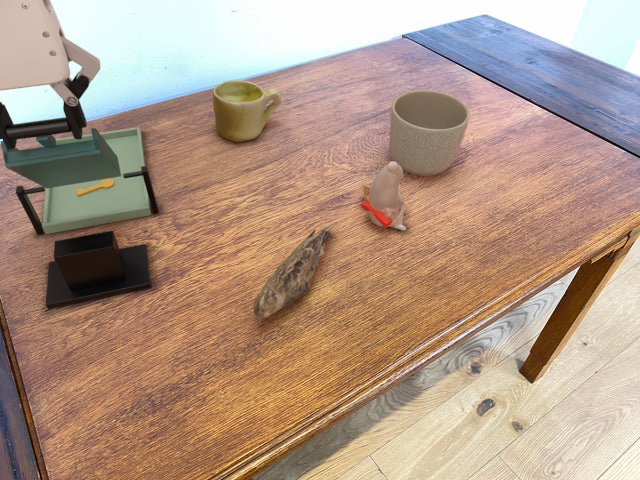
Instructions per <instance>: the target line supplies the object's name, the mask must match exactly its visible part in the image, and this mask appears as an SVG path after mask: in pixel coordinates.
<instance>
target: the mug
mask: <svg viewBox="0 0 640 480" xmlns="http://www.w3.org/2000/svg"><path fill="white" fill-rule="evenodd" d="M271 100H272V102H271V103H269V102H270V101H271ZM281 102H282V95H281V93H280V91H279V90H277V89H276V88H267V89H266V90H264V89H263V88H262V87H261V86H260V85H258V84H256V83H254V82H252V81H248V80H242V79H241V80H240V79H229V80H223V82H221V83H218V84H216V85H215V86H214V87H213V90H212V106H213V112H214V121H215V122H214V123H215V125H214V126H215V129H216V132H217V134H219V135H220V136H221V137H222V138H225V139H227V140H229V141H232V142H235V143H241V142H247V141H252V140H254V139H257V137H259V136H260V135H261V134H262V132H263V130H264V127H265V126H266V125H267V123H268V120H269V119H270V117H271V115H273V114H274V112H275V111H276V110H277V108H278V107H280V105H281ZM268 103H269V105H268ZM267 105H268V106H267Z"/></svg>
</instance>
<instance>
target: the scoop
mask: <svg viewBox="0 0 640 480" xmlns="http://www.w3.org/2000/svg"><path fill="white" fill-rule="evenodd" d="M90 130H91V134H92V136H93V140H88V141H81V142H74V143H67V144H60V145H57V144H56V139H57V138H56V137H54V135H60V134H68V133H72V131H71V129H70V126H69V124H68V121H67V118H66V116H64V117H57V118H50V119H42V120H35V121H27V122H20V123H19V122H18V123H13V124H11V125H6V133H7V136H8V138H9V139H10V140H17V141H18V140H25V139H32V138H35V139H36V142H37V143H39V144H40V145H41V146H40V147H33V148H27V149H19V148H17V146H16V147H14V149H10V150H8V149H7V147H6V145H5V143H4V141H3V140H1V141H0V145H1V146H0V147H1V151H2V155H3V160H4V165H5V168H6V169H8V170H10V171H12V172H14V173H15V174H18V175H20V176H22V177H23V178H26V179H28V180H29V181H31V182H33V183H36V184H38V185H40V187H44V188H45V189H46V188H53V187H59V186H65V185H71V184H78V183H84V182H90V181H96V180H102V179H109V178H115V177H121V172H120V167H119V162H118V157H117V155H116V154H115V153H114V151H113V150H112V149H111V148H110V146H109V145H108V144H107V142H106V141H105V140H104V139H103V137H102V136H101V135H100V133H101V132H99V130H98V129H97V128H96V127H93V128H90Z"/></svg>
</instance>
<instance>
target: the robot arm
mask: <svg viewBox="0 0 640 480" xmlns="http://www.w3.org/2000/svg"><path fill="white" fill-rule="evenodd" d="M70 62H73V63H75V64H77V65H79V66H80V67H81V68H80V70H79V71H78V72H77V73H76V74H75V76H74V77H73V78H71V77H70V76H71V69H70V66H69V65H70ZM100 70H101V60H100V58H98V57H97V56H95V55H93V53H90V52H89V51H87V50H86V49H84V48H82V47H80V46H79V45H78V44H76V43H74V42H73V41H71V40H69V39H68V38H67V37H66V33H65V31H64V29H63V27H62V25H61V22H60V20H59V18H58V14H57V13H56V10H55V8H54V6H53V3H52V2H51V0H0V91H8V90H16V89H23V88H25V89H26V88H31V87H32V88H33V87H40V86H48V85H49V86H50V87H51V89H52V90H54V92H55V93H56V95H58V96H59V97H60V98H61V99H62V101H63V106H62V110H63V112H64V117H66V118H67V121H68V124H69V126H70V129H71V134H72V137H73V136H74V139H77V140H79V139H82V135H83V128H87V127H88V126H87V119H86V115H85V113H84V110H83V108H82V105H81V101H80V100H81V98H82V96H83V95H84V94H85V92H86V91H87V89H88V88H89V86H90V84H91V82H92V81H93V80H94V79H95V77H96V76H97V74H99V72H100ZM11 124H14V122H13V120H12V117H11V115H10V113H9V111H8V108H7V107H6V105H5V104H3V101H0V140H2V141H4V143H5V145H6V147H7V149H8V150H10V149H14V147H16V148H17V143H18V140H10V139H9V138H8V136H7V133H6V125H11Z"/></svg>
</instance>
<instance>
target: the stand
mask: <svg viewBox="0 0 640 480" xmlns="http://www.w3.org/2000/svg"><path fill="white" fill-rule="evenodd" d="M123 176H124V178H131V177H137V176H143V179H144V182H145V186H146V189H147V193H148V196H149V200H150V206H151V212H152V213H153V214H152V215H158V214H159V212H160V211H159V206H158V203H157V198H156V195H155V192H154V187H153V184H152V181H151V177H150V172H149V170H148V166H147V165H146V166H142V167H141V171H137V172H131V173H124V174H123ZM45 190H46V188H45V187H43V186H37V187H32V188H26V189H25V188H24V185H17V186H16V187H15V194H16V196H17V199H18V200H19V202H20V204H21V206H22V208H23V210H24V212H25V214H26V216H27V217H28V219H29V221H30V224H31V225H32V227H33V229H34V231H35V233H36V235H37V236H40V235H44V233H45V232H44V230H43V228H42V221H41V220H40V217H39V215H38V213H37V211H36V210H35V207H34V205H33V203H32V202H31V199H30V197H29V195H31V194H37V193H44V192H45ZM53 247H54V248H53V259H54V261H49V262H48V268H47V280H46V281H47V282H46V292H45V293H46V295H45V307H46V309H47V310H53V309H57V308H62V307H66V306H67V307H68V306H72V305H76V304H81V303H85V302H92V301H96V300H100V299H105V298H109V297H113V296H115V297H116V296H119V295H124V294H128V293H133V292H138V291H143V290H147V289H151V288H152V278H151V269H150V267H151V266H150V260H149V249H148V245H147V243H141V244H137V245H131V246H128V247H122V248H120V247H119V243H118V240H117V238H116V236H115V232H114V230H106V231H103V232H96V233H91V234H85V235H80V236H75V237H70V238H69V237H68V238H63V239H59V240H55V241H54V246H53Z"/></svg>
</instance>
